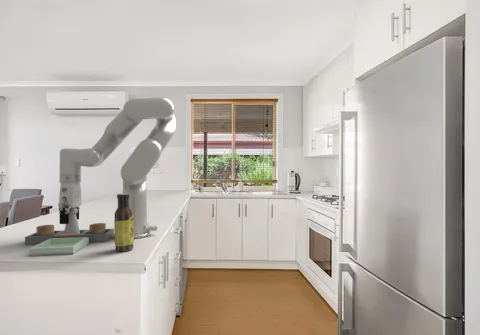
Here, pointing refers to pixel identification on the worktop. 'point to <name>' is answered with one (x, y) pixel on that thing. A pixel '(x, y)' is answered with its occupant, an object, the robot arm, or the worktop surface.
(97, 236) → the socket holder
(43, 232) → the oak peg
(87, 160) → the robot arm
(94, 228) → the oak peg
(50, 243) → the sage tray
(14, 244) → the worktop surface
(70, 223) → the salt shaker
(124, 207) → the sauce bottle
